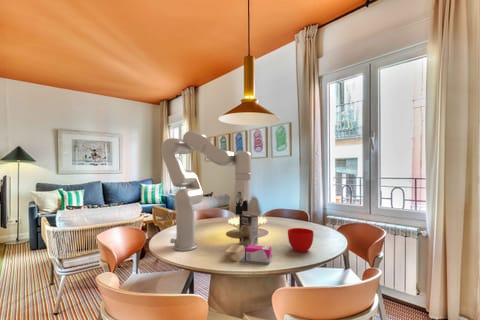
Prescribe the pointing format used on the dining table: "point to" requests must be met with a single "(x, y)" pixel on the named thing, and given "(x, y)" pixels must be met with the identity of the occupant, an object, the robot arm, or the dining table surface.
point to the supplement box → (258, 253)
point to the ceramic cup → (300, 239)
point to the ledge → (234, 253)
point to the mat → (253, 261)
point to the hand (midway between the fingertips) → (241, 212)
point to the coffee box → (248, 229)
